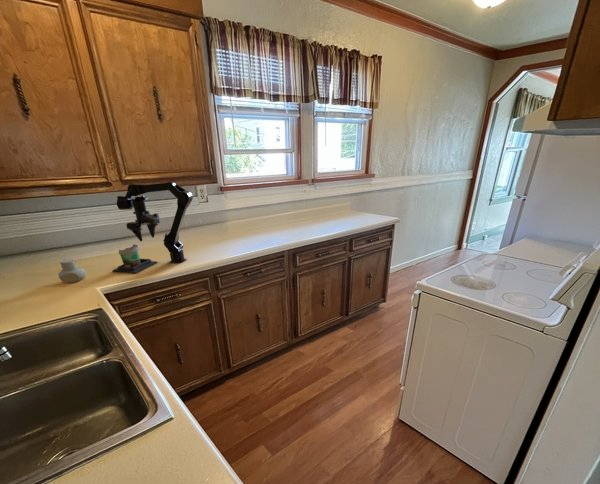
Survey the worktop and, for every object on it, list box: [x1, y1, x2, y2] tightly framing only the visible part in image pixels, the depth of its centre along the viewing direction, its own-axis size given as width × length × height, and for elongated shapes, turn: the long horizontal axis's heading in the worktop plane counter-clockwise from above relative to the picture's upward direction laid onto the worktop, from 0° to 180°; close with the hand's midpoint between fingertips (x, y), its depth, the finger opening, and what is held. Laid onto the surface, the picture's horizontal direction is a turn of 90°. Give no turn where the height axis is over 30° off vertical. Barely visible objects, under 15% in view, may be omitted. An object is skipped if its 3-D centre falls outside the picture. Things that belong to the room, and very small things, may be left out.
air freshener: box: [58, 258, 87, 284], centre depth 155 cm, size 11×8×10 cm
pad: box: [112, 258, 158, 275], centre depth 174 cm, size 14×18×2 cm
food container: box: [118, 244, 141, 268], centre depth 172 cm, size 12×6×10 cm, turn 168°
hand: (147, 239), depth 177 cm, fingers open, 9 cm apart
